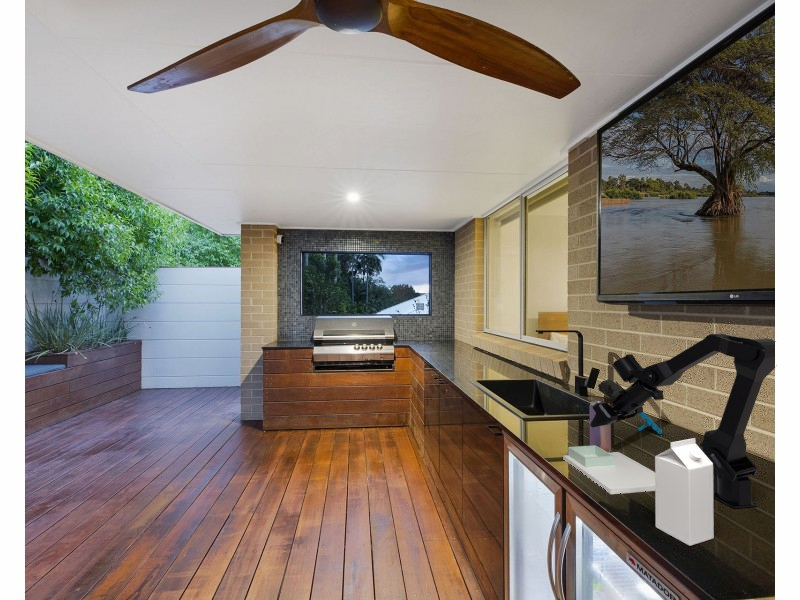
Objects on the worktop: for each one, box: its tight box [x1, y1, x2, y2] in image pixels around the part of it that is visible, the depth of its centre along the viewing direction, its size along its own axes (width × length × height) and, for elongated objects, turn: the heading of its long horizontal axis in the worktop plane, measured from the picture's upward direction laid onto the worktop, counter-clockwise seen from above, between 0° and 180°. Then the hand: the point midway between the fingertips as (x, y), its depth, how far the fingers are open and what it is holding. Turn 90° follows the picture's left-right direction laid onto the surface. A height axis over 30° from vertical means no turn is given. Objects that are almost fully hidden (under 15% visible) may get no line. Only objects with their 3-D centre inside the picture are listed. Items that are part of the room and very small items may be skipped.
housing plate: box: [562, 445, 655, 495], centre depth 113 cm, size 22×18×4 cm
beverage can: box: [589, 400, 612, 453], centre depth 129 cm, size 6×6×15 cm
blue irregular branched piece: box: [637, 411, 663, 435], centre depth 147 cm, size 11×6×10 cm
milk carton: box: [654, 437, 715, 547], centre depth 84 cm, size 7×7×19 cm
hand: (599, 423), depth 129 cm, fingers open, 9 cm apart
